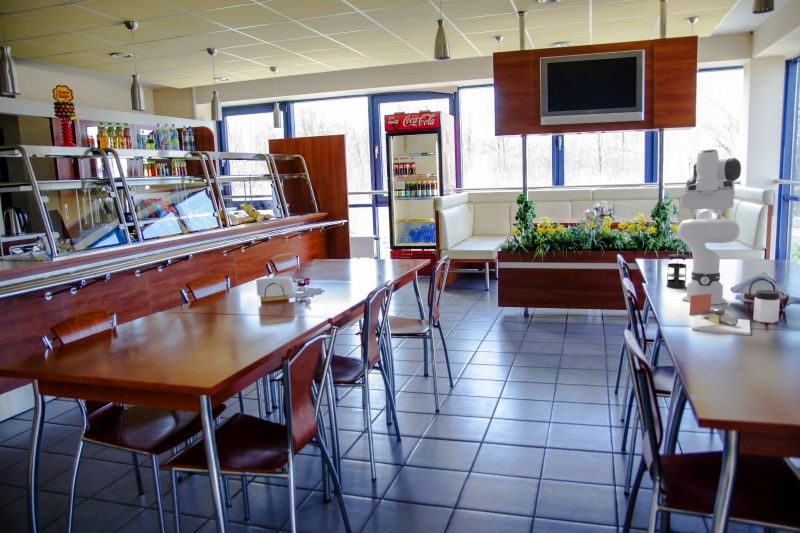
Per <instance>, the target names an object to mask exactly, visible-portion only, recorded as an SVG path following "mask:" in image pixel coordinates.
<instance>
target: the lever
mask: <svg viewBox="0 0 800 533" xmlns="http://www.w3.org/2000/svg"><path fill="white" fill-rule="evenodd" d="M711 306H712V304H711V294H700V295H691V296H690V302H689V313H688V315H689V316H691V317H693V316H694V317H695V316H701V315H705V314H714V313H718V314H724V313H726V310H725V309H723V308H714V309H712V308H711Z"/></svg>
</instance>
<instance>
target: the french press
mask: <svg viewBox="0 0 800 533" xmlns="http://www.w3.org/2000/svg"><path fill="white" fill-rule="evenodd" d="M673 245H674V246H676V248H677V253H674V254H673V253H672V254H668V255H667V256H668V259H669V260H670V261H671V260H674V259H676V262H674V263H671V262H670V263H667V268H669V269H671V268H672V269H673V273H667V280H666V287H667V288H670V289H685V287H686V288H687V285H686V282H687V281H686V280H687V278H686V277H687V264H685V263H678V260H679V259H680V260H684V261H686V260H687V259H686V258H687V256H688V255H686V254H681V253H679V248H680V246H683V244H682V243H674V244H673ZM680 269H684V270H685V272H684V274H682V273H680ZM669 277H671V279H670V278H669ZM680 278H684V279H680Z"/></svg>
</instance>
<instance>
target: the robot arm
mask: <svg viewBox="0 0 800 533" xmlns="http://www.w3.org/2000/svg"><path fill="white" fill-rule="evenodd" d="M741 173H742V164H741V162H740V161H739V160H738V159H737V158H735V157H732V158H731V157H729V158H720V159H719V152H718V150H716V149H704V150H703V149H702V150H698V152H697V157H696V163H695V164H693V175H692V177H690V178H689V179H688V180H687V181H686V184H685V186H684V193H682V197H681V198H682V199H681V203H680V205H681V206H680V207H681V209H682V210H689V213H690V214H691V216H692V218H691V219H684V220H682V221H681V222H679V224H678V227H677V235H678V238H679V239H680V240H681V241H682V242H684V243H685V244H686V245H687V247H689V249H690V251H691V254H692V271H691V275H690V276H691V280H690V281H689V282H688V283H687V285H686V288H687V290H686V296H683V297H682V298H681V299H682V301H685V302H688V303H690V296H691V295H700V294H711V305H721V304H728V301H727V300H726V299H725V298H724V297H723V295H724V293H723V291H724V289H723V288H724V286H723V284H722V283H721V282H720V278H721V273H720V263H721V262H720V261H721V260H720V259H721V258H720V255H719V254H718V253H717V252H715V250H712V249H709V248H708V247H707V246H706V244H707V243H708V244H727V243H728V244H729V243H733V242H735V241H736V240H738V239H739V236H740V233H741V232H740V231H741V228H740V226H739V224H738V222H736V221H735V220H732V219H728V218H726V217H725V216H723V214H724V212H725V209H732V208H734V196H735V183H734V182H736V181H737V180H738V179H739V178H741V177H740V176H741ZM694 210H696V213H695V214H694Z"/></svg>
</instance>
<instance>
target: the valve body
mask: <svg viewBox="0 0 800 533" xmlns="http://www.w3.org/2000/svg"><path fill="white" fill-rule="evenodd" d="M700 316H702V317H705V318H708V319H709V321H711V322H714V323H718V324H721V323H726V324H729V325H733V326H735V325H737V323H738V319H739V318H737V317H734V316H730V314H729V313H726V312H725V313H724V314H718V313H714V314H705V315H700Z"/></svg>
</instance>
